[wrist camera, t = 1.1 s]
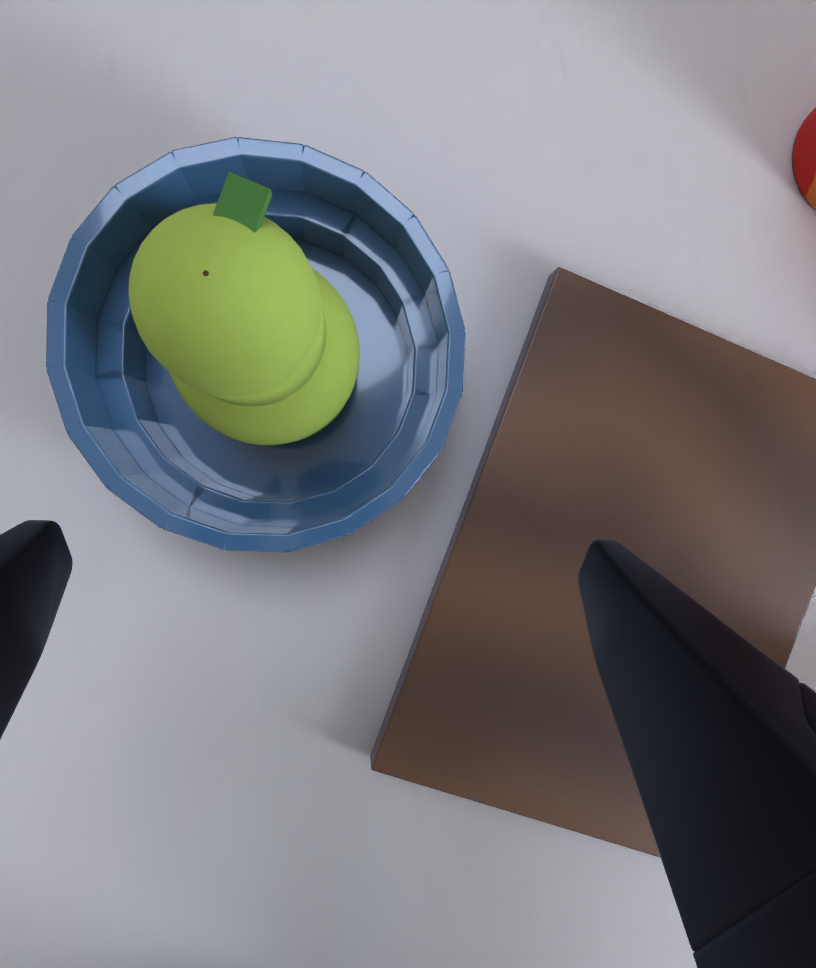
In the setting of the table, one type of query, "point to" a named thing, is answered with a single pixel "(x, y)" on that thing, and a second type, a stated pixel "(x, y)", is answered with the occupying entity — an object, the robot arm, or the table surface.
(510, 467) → the serving board
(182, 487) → the bowl
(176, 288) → the pear plush
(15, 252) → the table surface
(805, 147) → the paper cup
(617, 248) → the table surface
